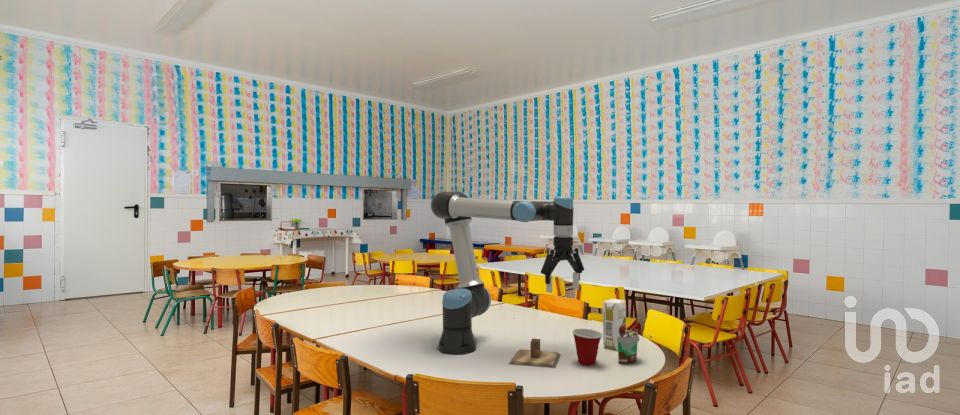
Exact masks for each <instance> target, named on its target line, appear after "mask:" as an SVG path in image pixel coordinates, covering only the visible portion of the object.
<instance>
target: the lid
mask: <svg viewBox="0 0 960 415" xmlns="http://www.w3.org/2000/svg"><path fill="white" fill-rule="evenodd" d="M517 351H518V352H517ZM517 351H516V353H517V354H516V353H515V354H516V355H515V354H514V356H515V357H514V356H513V357H514V358H513V357H512V358H513V360H512V359H511V360H512V364H522V365H535V366H547V367H553V366H554V364H555V361H556V359H557V357H558V354H559V351H549V350H541V338H532V339H531V340H530V349H523V348H522V349H521V348H520V349H519V350H517ZM522 365H521V366H522Z"/></svg>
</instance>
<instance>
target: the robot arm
mask: <svg viewBox="0 0 960 415" xmlns="http://www.w3.org/2000/svg"><path fill="white" fill-rule="evenodd" d="M574 209H575V208H574V199H573V197H571V196H554V197H553V201H537V200H535V201H532V200H531V201H528V200H527V201H525V200H508V199H507V200H506V199H493V198H492V199H491V198H475V197H470V196H469V195H468V194H467V193H465V192H461V191H459V190H458V191H446V190H445V191H439V192H437V193H436V194H435V195H434V196H433V197H432V199H431V200H430V210H431V212H432V213H433V215H434V216H435V217H436V218H439V219H442V220H444V225H445V226H446V227H448V228H449V232H450V238H451V244H452V249H453V253H454V259H455V265H456V270H457V274H458V280H459V284H458V285H457V287H456V288H455V289H449V290H447V291H445V292H444V294H443V295H442V301H441V304H442V332H441V335H440V339H439V341H438V351H440V352H441V353H444V354H447V355H449V354H450V355H462V354H464V355H465V354H469V353H473V352H475V351H476V349H477V342H476V338H475V335H474V332H473V329H472V328H473V327H472V326H473V324H472V323H473V322H472V321H473V320H472V319H473V318H476V317H477V316H481V315H483V314H485V313H486V312H487V311H488V310H489V308H490V307H491V305H492V296H491V294H490V291H489V290H488V289H487V288H486V287H485V283H484V281H482V280H481V279H480V276H479V271H478V265H477V261H476V254H475V249H474V242H473V240H472V234H471V230H470V229H471V228H470V223H471V222H472V218H477V219H478V218H479V219H492V220H493V219H494V220H505V221H517V222H521V223H528V222H537V221H550V222H551V221H552V222H553V235H554V236H553V243H552V244H553V246H554V249H551V248H548V249H547V254H546V256H545V259H544V262H543V265H542V267H541V270H540V274H543V275H544V283H545V285H546V287H545V289H546V290H545V292H546V293H549V294H551V293H553V275H552V273H553V272H554V270H555V269H556V267H557V265H558V264H559V263H560V262H563V261H567V262H568V263H569V265H570V267H571V268H572V269H573V272H572V289H573V290H577V291H578V290H580V281H581V274H582V273H583V272H584V271H585V268H584V265H583V262H582V259H581V257H580V253H579V248H578V247H574V237H573V236H574Z"/></svg>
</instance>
